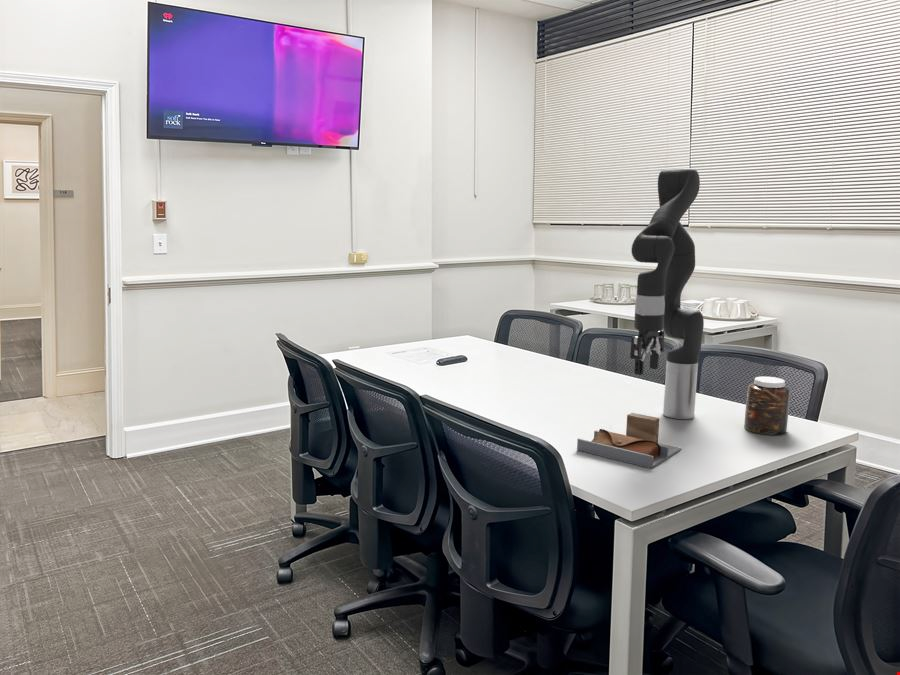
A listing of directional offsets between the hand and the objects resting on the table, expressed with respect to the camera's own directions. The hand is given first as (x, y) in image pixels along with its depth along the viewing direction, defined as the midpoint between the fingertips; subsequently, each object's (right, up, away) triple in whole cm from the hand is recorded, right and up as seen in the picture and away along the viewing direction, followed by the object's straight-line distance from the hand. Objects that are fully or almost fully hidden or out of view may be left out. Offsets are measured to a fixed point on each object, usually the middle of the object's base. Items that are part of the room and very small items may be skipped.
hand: (646, 371), depth 199 cm
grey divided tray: (-5, -21, -1) cm, 21 cm away
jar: (+40, -18, +18) cm, 47 cm away
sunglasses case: (-8, -21, -5) cm, 23 cm away
